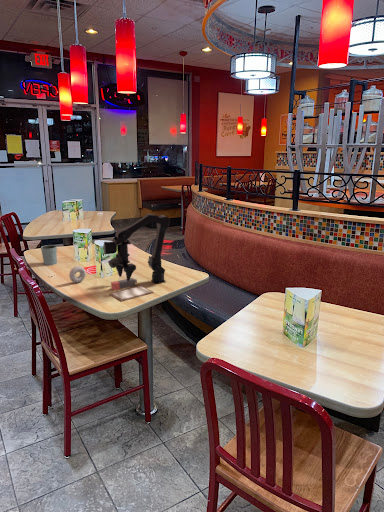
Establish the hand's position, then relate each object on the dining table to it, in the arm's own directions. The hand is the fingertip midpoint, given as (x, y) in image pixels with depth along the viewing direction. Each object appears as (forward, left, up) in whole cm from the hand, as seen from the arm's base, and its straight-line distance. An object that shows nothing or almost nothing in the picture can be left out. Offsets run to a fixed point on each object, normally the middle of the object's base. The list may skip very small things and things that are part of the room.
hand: (124, 278), depth 217 cm
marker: (0, 0, -5) cm, 5 cm away
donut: (+18, -23, -5) cm, 30 cm away
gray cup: (+18, -71, -5) cm, 73 cm away
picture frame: (+2, +12, -5) cm, 13 cm away
